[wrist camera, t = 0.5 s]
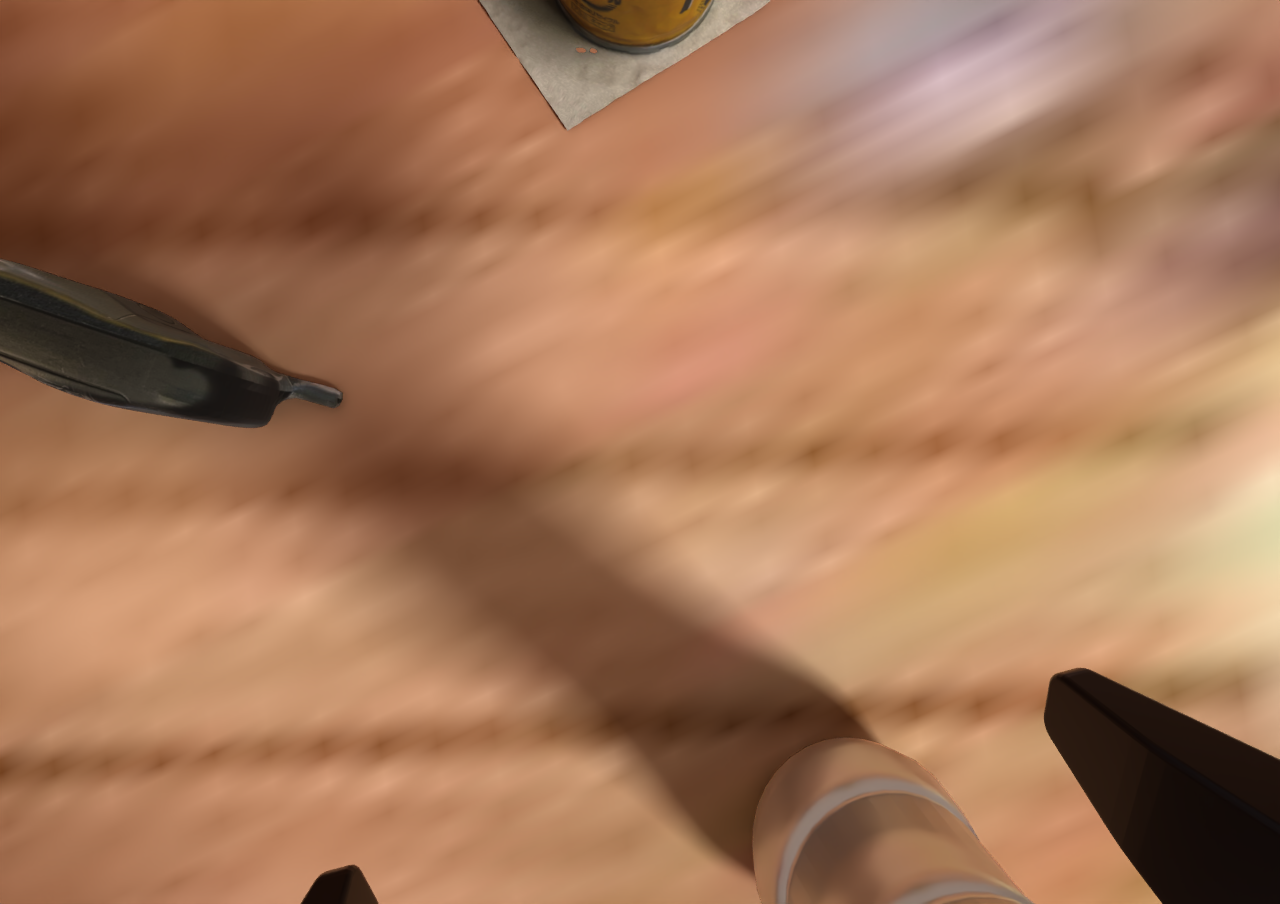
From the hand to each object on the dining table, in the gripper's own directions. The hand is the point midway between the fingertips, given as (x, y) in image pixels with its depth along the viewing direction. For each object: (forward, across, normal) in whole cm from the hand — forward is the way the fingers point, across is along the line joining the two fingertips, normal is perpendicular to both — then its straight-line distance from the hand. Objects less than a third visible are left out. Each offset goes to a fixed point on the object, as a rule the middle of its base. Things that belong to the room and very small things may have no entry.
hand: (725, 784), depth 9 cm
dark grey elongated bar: (+20, +14, -2) cm, 25 cm away
